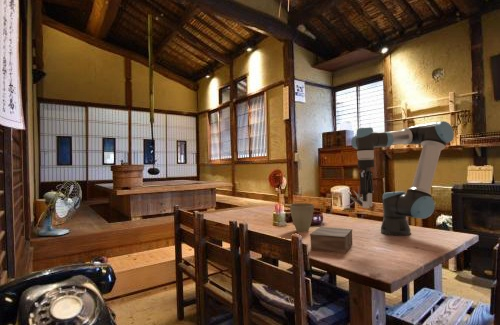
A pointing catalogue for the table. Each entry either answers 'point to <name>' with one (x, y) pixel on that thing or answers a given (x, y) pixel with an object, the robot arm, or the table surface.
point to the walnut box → (331, 240)
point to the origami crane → (356, 199)
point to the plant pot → (302, 216)
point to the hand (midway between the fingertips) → (367, 207)
